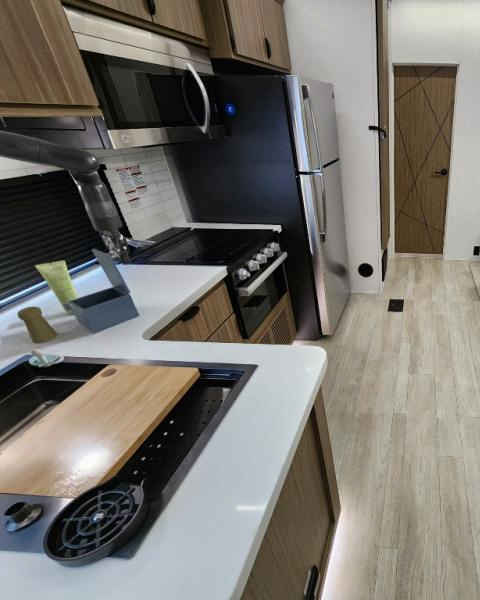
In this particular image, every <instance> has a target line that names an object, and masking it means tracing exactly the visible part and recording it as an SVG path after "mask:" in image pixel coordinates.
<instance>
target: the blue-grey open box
mask: <svg viewBox="0 0 480 600" xmlns="http://www.w3.org/2000/svg"><path fill="white" fill-rule="evenodd" d="M67 302H68V304H69V306H70V308H71V309H72V311H73V313H74V314H73V315H74V317H75V318H76V320H77V322H78V324H79V325H81V327H84V328H86V329H87V330H88V331H90V332H91V333H92V334H94V335H95V334H97V333H100V332H102V331H105V330H108V329H110V328H112V327H115V326H118V325H121V324H122V323H126V322H128V321H130V320H132V319H135V318H137V317H140V313H139V311H138V309H137V307H136V305H135V302H134V299H133V298H132V296H131V293H129V294H128V293H126V292H124V291H122V290H120V289H118V288H116V287H114V286H112V287H109V288H106V289H102V290H99V291H96V292H93V293H90V294H86V295H83V296H80V297H78V298H77V299H74V300H70V301H67Z"/></svg>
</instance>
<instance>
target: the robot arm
mask: <svg viewBox="0 0 480 600" xmlns="http://www.w3.org/2000/svg"><path fill="white" fill-rule="evenodd" d="M0 158H5V159H10V160H14V161H19V162H24V163H29V164H34V165H39V166H46V167H54V168H58V169H62V170H67V171H68V173H69V175H70V176H71V178H72V179H73V181H74V183H75V184H76V186H77V189H78V192H79V195H80V196H81V199H82V201H83V204H84V207H85V211H86V213H87V215H88V217H89V220H90V222H91V224H92V227H93V229H94V230H95V231H96V232H99V236H100V237H101V239H102V241H103V243H104V245H105V247H106V249H108V250H109V252H110V251H111V250H115V251H117V252H118V254H119V256H120V258H119V257H114V258H113V259H114V261H115V262H121V263H122V265H125V266H127V265H130V264H131V263H132V261H131V259H130V256H129V253H131V250H130V247H129V243H128V240H127V238H126V236H125V235H124V236H123V234H122V233H121V232H120V231H119V229H121V228H123V227H124V226H123V225H124V224H123V222H122V220H121V217H120V215H119V212H118V210H117V207H116V205H115V203H114V201H113V199H112V197H111V194H110V193H109V190H108V187H107V185H106V184H105V183H104V182H103V181H102V179H101V177H100V175H99V172H98V170H99V169H100V161H99V159H98V158H97V156H96V155H95V154H94V153H92V152H91V151H89V150H86V149H83V148H78V147H73V146H68V145H63V144H59V143H58V144H57V143H53V142H49V141H47V140H43V139H40V138H36V137H32V136H27V135H24V134H19V133H14V132H9V131H5V130H0Z"/></svg>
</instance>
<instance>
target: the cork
mask: <svg viewBox="0 0 480 600" xmlns="http://www.w3.org/2000/svg"><path fill="white" fill-rule="evenodd" d="M17 318H18V319H20V320H21V321H23V322H24V324H25V327H26V330H27V333H28V335H29V337H30V340H31V342H32V343H33V344H41V343H45V342H48V341H51V340H53V339H55V338H57V336H58V332H56V330H55V329H54V328H53V327H52V325H51V324H50V323H49V322H48V321H47V319H46V318H45V317H44V316H43V311H42V309H41V308H40V307H38V306H28V307H24V308H22V309H20V310H18V311H17Z"/></svg>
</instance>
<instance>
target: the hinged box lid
mask: <svg viewBox="0 0 480 600" xmlns="http://www.w3.org/2000/svg"><path fill="white" fill-rule="evenodd" d="M91 251H92V254H93V255H94V256H95V258H96V260H97V262H98V263H99V265H100V267H101V269H102V270H103V271H104V274H105V275H106V277H107V279H108V281H109V283H110V285H111V286H112V287H116V288H118V289H120V290H122V291H124V292H126V293H128V294H131V290H130V289H129V287H128V285H127V283H126V281H125V279H124V277H123V276H122V274H121V272H120V270H119V269H118V266H117V265H116V263H115V260H114V259H115V258H114V257H119V258H120V256H119V254H118V252H117V251H115V250H111V251H110V250H109V252H103V251H101V250H98V249H96V248H92V249H91Z"/></svg>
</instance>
